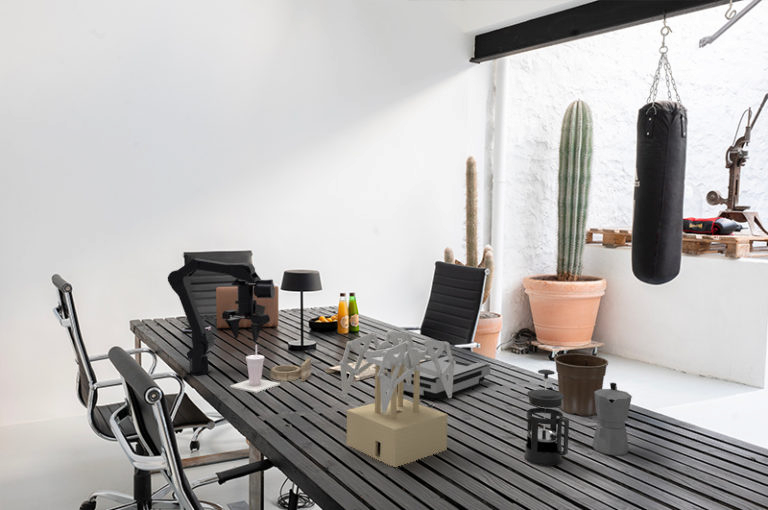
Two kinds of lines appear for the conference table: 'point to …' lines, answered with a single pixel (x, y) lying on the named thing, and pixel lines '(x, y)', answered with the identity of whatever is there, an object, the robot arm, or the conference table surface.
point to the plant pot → (579, 381)
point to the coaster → (247, 387)
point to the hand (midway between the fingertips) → (245, 339)
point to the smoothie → (255, 368)
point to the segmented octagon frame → (292, 371)
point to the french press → (541, 440)
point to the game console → (462, 379)
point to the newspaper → (364, 375)
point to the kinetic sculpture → (396, 400)
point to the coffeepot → (611, 421)
